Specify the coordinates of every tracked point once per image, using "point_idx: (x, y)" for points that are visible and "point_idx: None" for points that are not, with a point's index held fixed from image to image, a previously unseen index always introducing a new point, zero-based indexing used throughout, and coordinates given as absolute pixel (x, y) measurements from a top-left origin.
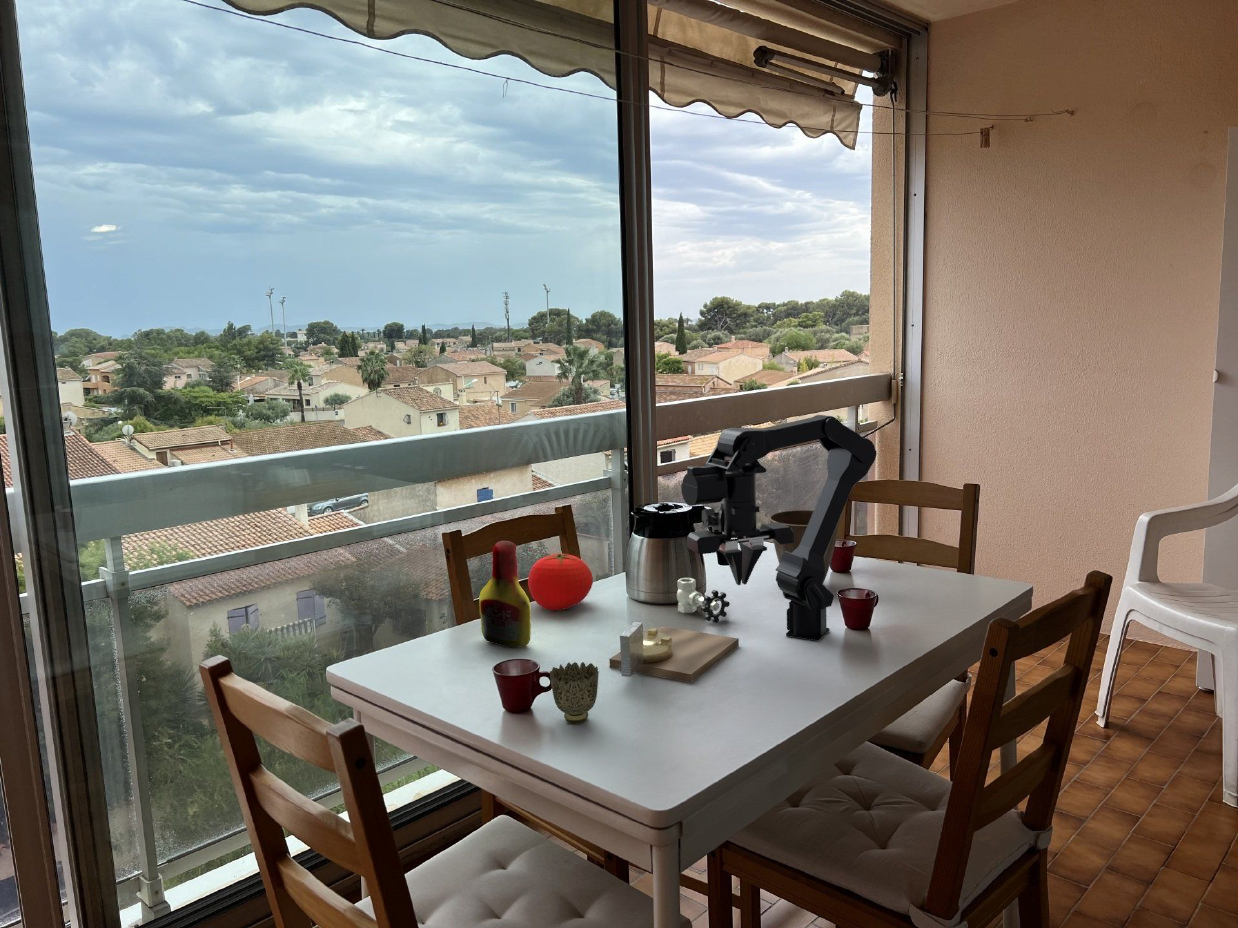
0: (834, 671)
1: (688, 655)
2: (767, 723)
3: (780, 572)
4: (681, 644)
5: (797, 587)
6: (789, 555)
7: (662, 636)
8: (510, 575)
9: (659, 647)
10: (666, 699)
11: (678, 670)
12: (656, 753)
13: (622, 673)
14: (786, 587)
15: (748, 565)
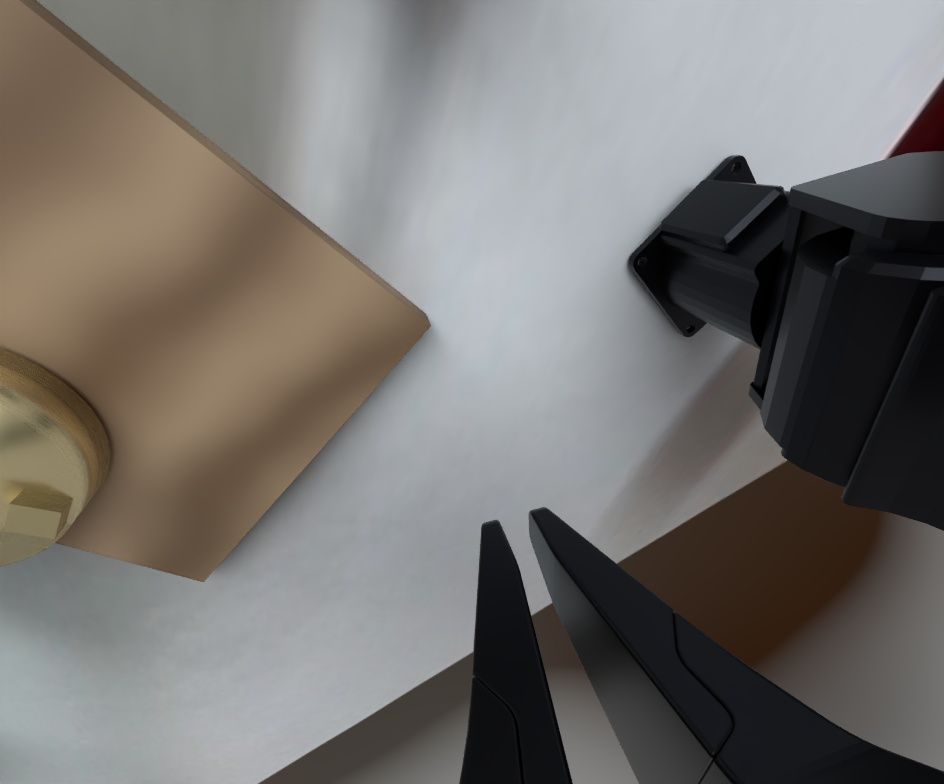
0: (590, 513)
1: (191, 458)
2: (366, 681)
3: (919, 316)
4: (149, 343)
5: (794, 463)
6: None
7: (3, 446)
8: None
9: (23, 556)
10: (138, 631)
11: (156, 561)
12: (142, 767)
13: None
14: (792, 367)
15: (620, 736)
